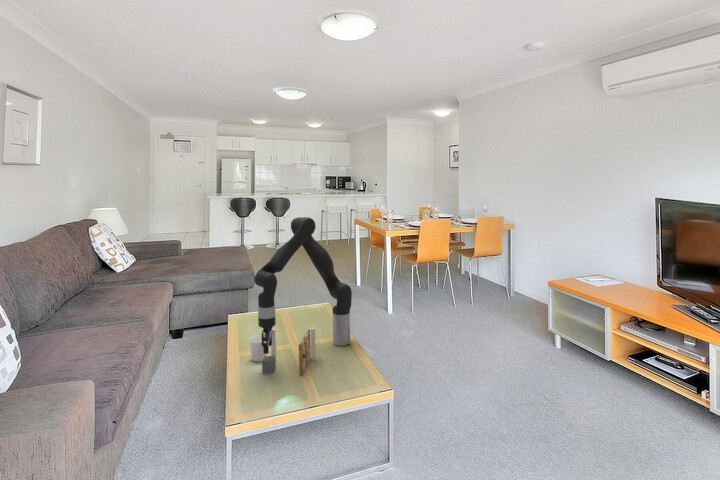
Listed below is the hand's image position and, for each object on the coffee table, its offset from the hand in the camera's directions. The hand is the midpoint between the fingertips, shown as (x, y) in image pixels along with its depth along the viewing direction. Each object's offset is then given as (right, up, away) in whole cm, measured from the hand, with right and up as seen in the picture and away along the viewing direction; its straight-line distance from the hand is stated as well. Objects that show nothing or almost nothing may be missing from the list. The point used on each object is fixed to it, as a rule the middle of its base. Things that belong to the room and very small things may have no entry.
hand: (267, 349), depth 168 cm
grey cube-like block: (0, -10, +2) cm, 11 cm away
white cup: (-8, -9, +13) cm, 18 cm away
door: (+17, -10, +5) cm, 20 cm away
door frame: (+10, -9, +12) cm, 18 cm away
